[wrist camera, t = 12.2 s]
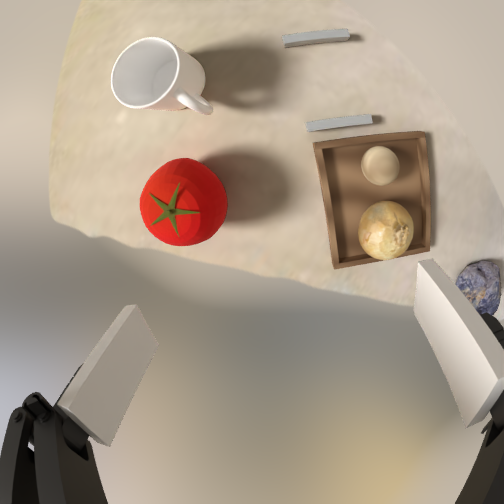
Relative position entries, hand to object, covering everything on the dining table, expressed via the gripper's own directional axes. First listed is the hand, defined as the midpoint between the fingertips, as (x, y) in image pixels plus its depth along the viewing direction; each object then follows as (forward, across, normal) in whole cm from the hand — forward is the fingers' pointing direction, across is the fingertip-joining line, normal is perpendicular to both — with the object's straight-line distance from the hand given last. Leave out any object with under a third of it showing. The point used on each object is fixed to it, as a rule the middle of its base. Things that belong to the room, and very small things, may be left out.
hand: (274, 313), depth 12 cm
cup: (+27, -9, +16) cm, 33 cm away
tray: (+27, +13, -4) cm, 30 cm away
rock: (+27, +33, -22) cm, 48 cm away
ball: (+26, +13, +1) cm, 29 cm away
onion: (+27, +13, -8) cm, 30 cm away
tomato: (+27, -12, +2) cm, 29 cm away
